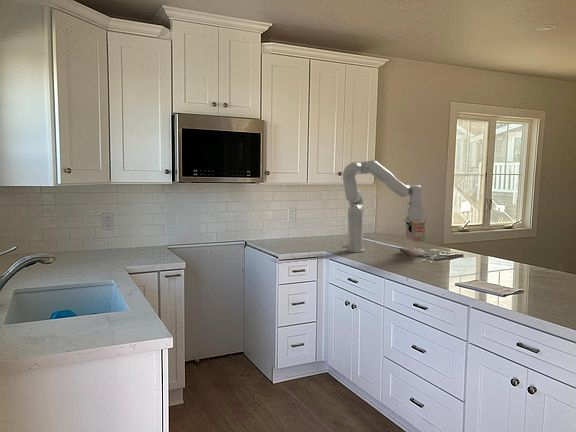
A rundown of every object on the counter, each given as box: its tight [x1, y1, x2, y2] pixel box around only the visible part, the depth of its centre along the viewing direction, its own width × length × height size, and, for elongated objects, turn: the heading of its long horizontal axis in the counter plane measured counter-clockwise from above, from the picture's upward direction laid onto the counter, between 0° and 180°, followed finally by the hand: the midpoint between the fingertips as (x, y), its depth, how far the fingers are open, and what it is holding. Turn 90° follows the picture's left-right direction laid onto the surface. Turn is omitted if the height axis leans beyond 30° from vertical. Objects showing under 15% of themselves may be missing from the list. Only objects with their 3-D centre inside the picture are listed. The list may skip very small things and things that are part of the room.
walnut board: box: [400, 246, 425, 258], centre depth 304 cm, size 12×27×1 cm, turn 2°
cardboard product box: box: [405, 221, 426, 242], centre depth 303 cm, size 21×6×12 cm, turn 1°
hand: (415, 231), depth 302 cm, fingers closed on cardboard product box, 6 cm apart
